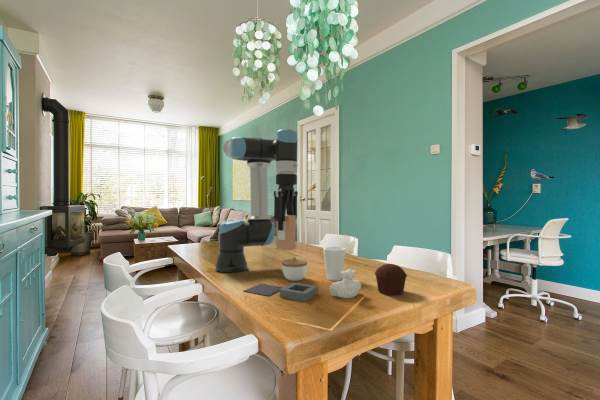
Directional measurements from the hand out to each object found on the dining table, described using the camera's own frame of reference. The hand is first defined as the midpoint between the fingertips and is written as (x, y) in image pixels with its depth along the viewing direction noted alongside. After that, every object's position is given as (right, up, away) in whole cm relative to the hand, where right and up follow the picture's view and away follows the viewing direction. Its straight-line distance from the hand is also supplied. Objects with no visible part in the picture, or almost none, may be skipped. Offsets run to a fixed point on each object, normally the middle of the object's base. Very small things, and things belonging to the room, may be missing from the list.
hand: (285, 238), depth 110 cm
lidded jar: (+3, -20, +19) cm, 28 cm away
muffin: (+39, -20, +3) cm, 44 cm away
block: (0, -4, 0) cm, 4 cm away
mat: (-8, -20, +3) cm, 22 cm away
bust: (+21, -20, -3) cm, 30 cm away
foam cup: (+20, -20, +21) cm, 35 cm away
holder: (+5, -20, -3) cm, 21 cm away
